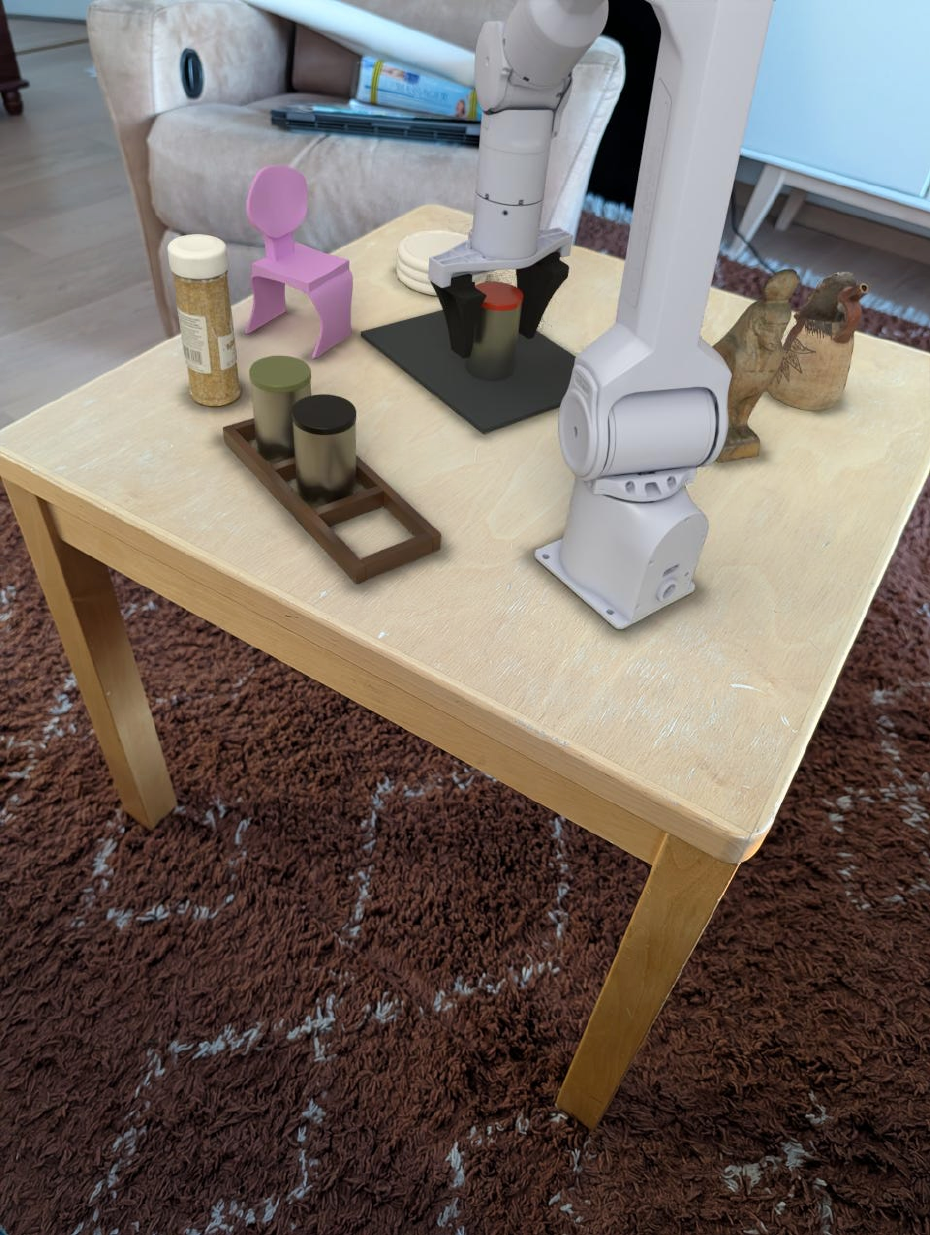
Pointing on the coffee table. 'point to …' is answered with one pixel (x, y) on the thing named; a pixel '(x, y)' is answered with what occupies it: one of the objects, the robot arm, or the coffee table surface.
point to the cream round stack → (426, 257)
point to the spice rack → (339, 509)
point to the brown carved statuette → (754, 360)
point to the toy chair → (294, 259)
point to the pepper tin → (324, 448)
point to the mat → (476, 400)
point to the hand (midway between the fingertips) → (493, 343)
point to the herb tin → (277, 403)
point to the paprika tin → (496, 332)
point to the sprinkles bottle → (205, 317)
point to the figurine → (820, 345)
